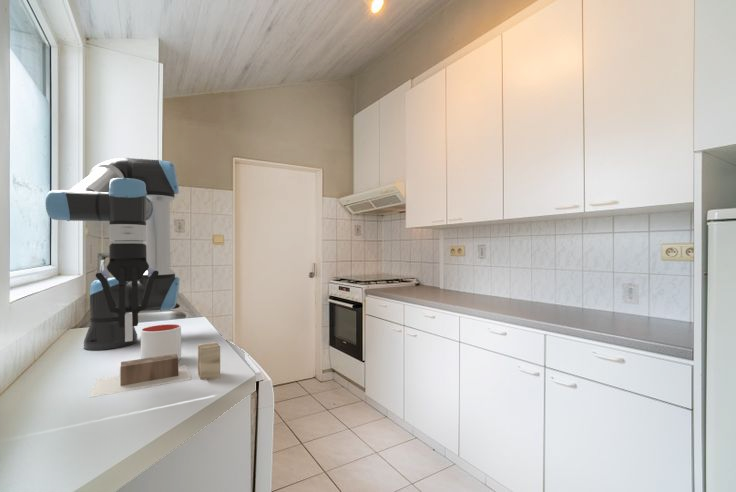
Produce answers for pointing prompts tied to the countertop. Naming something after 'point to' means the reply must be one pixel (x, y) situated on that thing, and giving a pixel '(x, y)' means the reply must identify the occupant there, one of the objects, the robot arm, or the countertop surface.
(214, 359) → the beech block
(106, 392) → the board
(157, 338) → the cup
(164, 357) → the walnut block
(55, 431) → the countertop surface
